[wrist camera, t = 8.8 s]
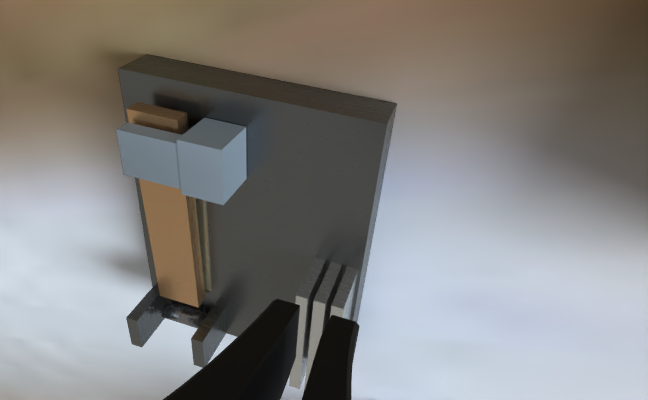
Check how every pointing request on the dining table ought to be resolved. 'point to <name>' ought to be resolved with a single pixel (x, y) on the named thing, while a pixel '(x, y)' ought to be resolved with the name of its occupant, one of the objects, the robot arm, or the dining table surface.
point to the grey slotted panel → (273, 201)
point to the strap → (172, 227)
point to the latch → (187, 158)
